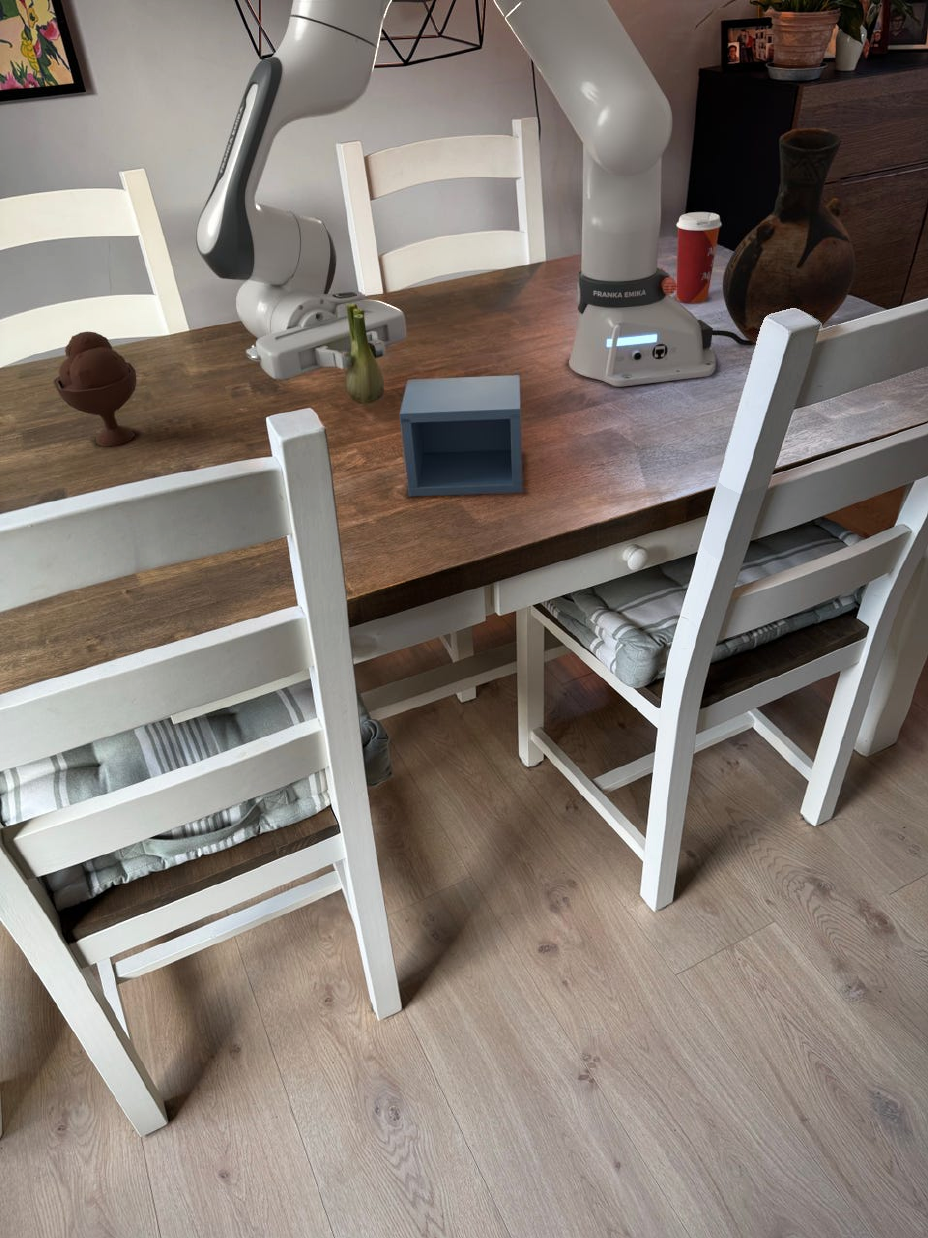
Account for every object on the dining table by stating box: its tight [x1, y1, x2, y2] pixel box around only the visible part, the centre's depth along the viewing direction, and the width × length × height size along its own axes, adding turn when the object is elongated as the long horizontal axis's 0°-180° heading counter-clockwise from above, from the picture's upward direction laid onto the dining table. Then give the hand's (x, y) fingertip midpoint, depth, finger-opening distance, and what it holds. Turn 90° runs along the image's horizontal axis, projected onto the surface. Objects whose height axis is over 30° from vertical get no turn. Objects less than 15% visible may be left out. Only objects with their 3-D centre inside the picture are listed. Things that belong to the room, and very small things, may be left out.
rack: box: [399, 374, 523, 497], centre depth 106 cm, size 14×10×11 cm
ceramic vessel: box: [722, 127, 856, 344], centre depth 129 cm, size 21×18×30 cm
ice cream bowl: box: [52, 331, 137, 448], centre depth 120 cm, size 11×11×15 cm
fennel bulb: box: [344, 303, 385, 405], centre depth 107 cm, size 6×5×12 cm
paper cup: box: [675, 211, 723, 304], centre depth 153 cm, size 8×8×14 cm
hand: (364, 356), depth 107 cm, fingers closed on fennel bulb, 3 cm apart
